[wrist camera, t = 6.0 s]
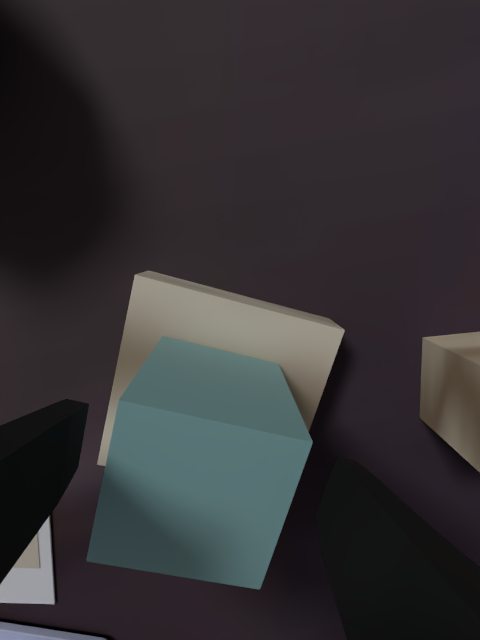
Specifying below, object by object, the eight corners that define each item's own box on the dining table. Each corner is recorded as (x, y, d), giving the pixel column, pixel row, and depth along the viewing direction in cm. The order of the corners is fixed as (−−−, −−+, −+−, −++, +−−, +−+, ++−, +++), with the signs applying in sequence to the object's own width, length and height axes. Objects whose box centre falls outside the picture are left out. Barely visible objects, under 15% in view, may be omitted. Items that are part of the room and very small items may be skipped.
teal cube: (247, 462, 13) (259, 589, 8) (139, 440, 13) (86, 561, 8) (278, 363, 12) (312, 442, 7) (162, 335, 12) (118, 400, 7)
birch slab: (275, 464, 16) (283, 503, 14) (118, 430, 16) (97, 464, 13) (325, 315, 15) (344, 330, 12) (151, 269, 14) (134, 274, 11)
